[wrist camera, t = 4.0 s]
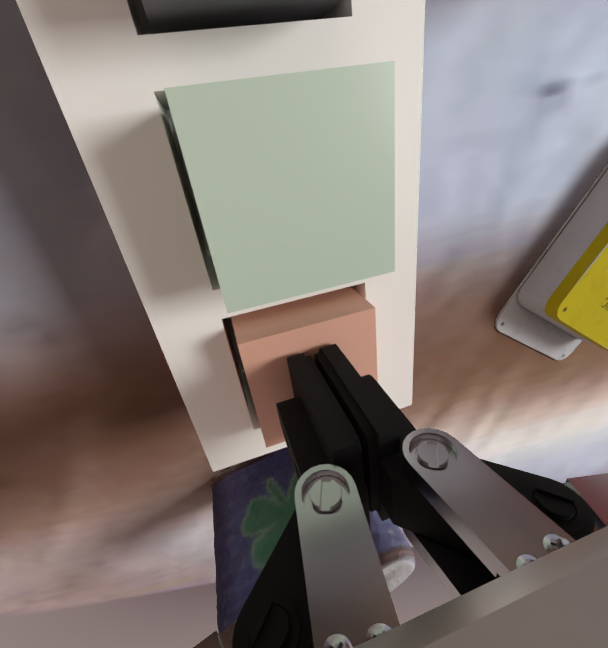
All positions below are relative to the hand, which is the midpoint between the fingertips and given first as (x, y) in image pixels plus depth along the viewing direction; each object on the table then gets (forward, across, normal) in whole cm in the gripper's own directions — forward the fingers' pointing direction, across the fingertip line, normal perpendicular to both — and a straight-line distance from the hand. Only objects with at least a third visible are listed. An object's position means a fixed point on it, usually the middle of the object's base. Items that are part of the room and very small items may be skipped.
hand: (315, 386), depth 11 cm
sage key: (+3, 0, -6) cm, 7 cm away
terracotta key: (+4, 0, 0) cm, 4 cm away
